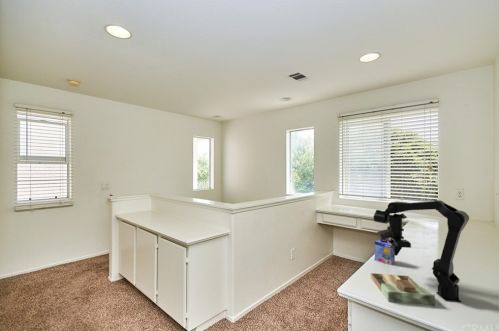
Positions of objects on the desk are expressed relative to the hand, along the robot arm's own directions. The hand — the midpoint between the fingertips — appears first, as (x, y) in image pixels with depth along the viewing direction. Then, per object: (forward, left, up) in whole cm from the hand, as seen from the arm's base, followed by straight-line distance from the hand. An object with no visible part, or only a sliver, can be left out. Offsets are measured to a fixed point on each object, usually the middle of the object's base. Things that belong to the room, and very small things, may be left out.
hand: (395, 255), depth 122 cm
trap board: (+4, +13, -12) cm, 18 cm away
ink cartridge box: (-3, -22, -12) cm, 26 cm away
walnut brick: (+4, +20, -10) cm, 22 cm away
